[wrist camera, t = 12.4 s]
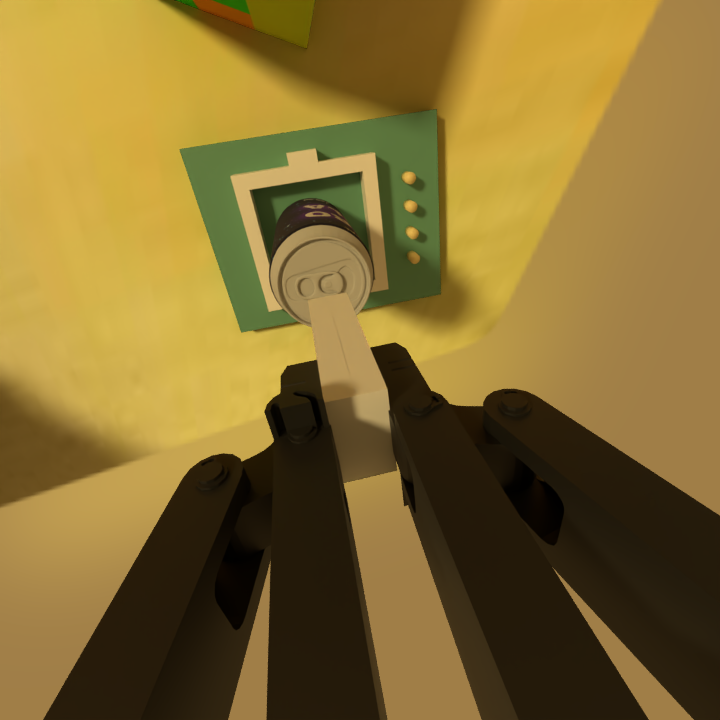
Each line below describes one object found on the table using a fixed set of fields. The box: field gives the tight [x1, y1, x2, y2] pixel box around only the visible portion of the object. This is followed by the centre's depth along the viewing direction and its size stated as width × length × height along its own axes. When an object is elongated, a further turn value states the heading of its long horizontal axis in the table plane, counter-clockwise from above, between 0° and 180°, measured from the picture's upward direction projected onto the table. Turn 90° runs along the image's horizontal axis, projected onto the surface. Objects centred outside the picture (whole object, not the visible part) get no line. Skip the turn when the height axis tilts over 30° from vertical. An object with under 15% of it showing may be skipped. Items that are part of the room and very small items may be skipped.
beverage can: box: [269, 198, 374, 327], centre depth 24 cm, size 6×6×12 cm
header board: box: [179, 109, 441, 332], centre depth 29 cm, size 18×14×3 cm
